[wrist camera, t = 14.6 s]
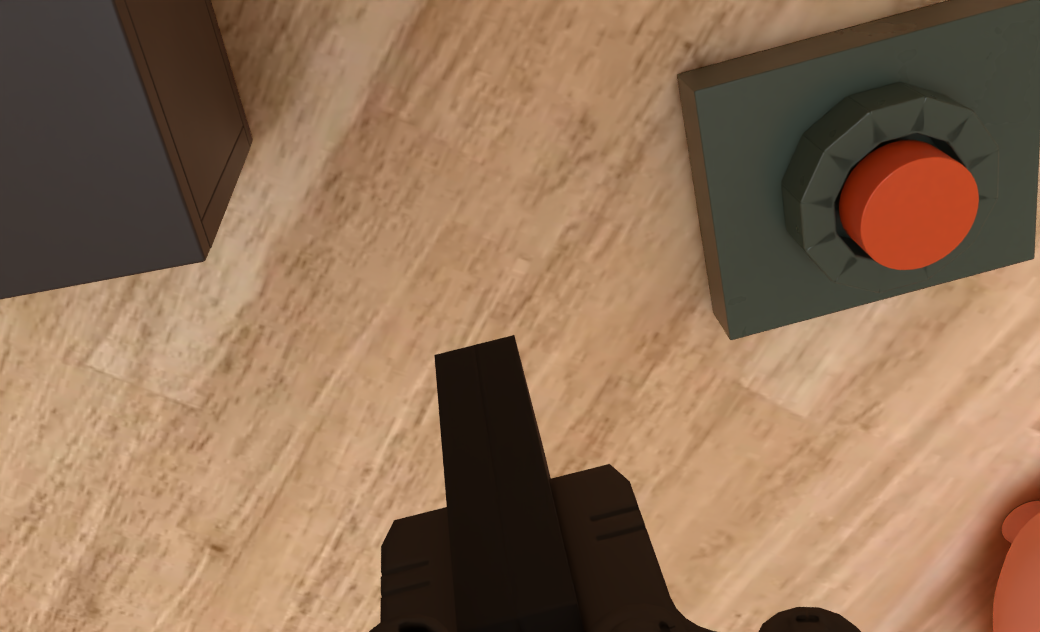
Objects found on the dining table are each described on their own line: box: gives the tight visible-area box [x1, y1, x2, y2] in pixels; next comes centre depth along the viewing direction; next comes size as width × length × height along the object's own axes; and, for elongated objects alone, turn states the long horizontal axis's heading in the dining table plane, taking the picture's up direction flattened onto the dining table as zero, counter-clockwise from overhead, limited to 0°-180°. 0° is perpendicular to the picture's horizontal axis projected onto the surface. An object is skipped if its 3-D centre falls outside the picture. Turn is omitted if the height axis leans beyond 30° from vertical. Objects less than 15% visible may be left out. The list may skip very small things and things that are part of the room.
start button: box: [839, 140, 979, 270], centre depth 31 cm, size 4×4×2 cm
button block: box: [677, 0, 1040, 340], centre depth 33 cm, size 12×10×4 cm
